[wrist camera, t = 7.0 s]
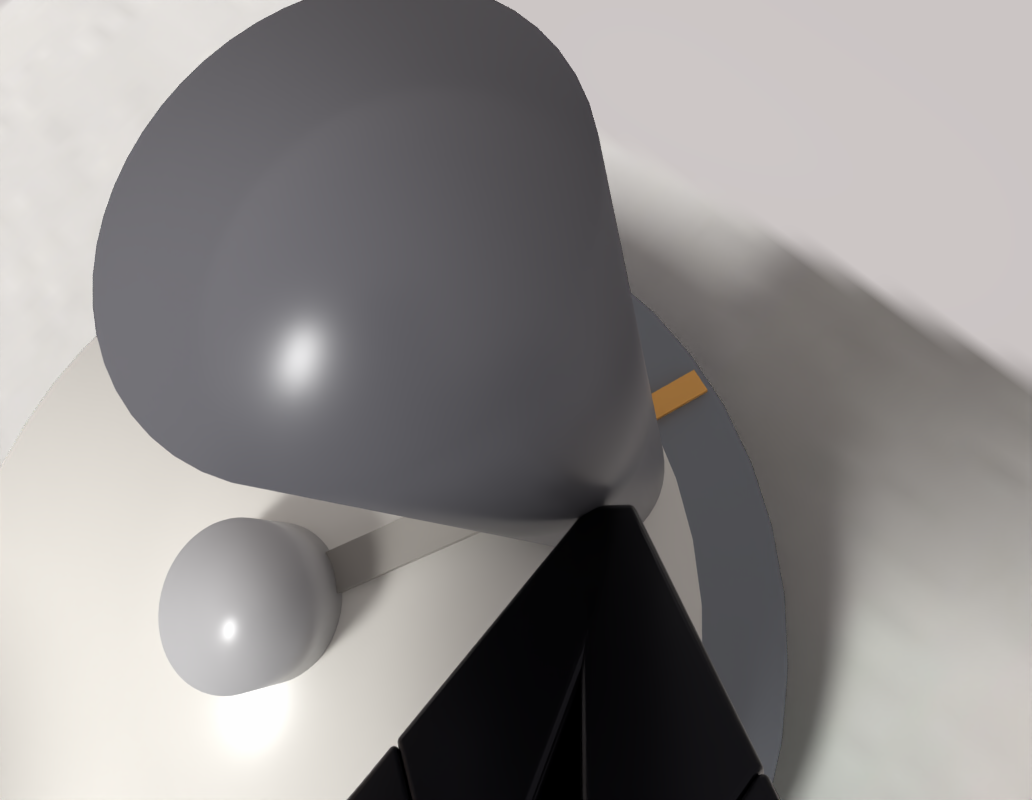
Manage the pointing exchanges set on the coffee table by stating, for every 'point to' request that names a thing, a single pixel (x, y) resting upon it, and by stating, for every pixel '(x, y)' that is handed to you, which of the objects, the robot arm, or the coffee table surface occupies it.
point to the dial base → (723, 537)
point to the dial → (320, 409)
